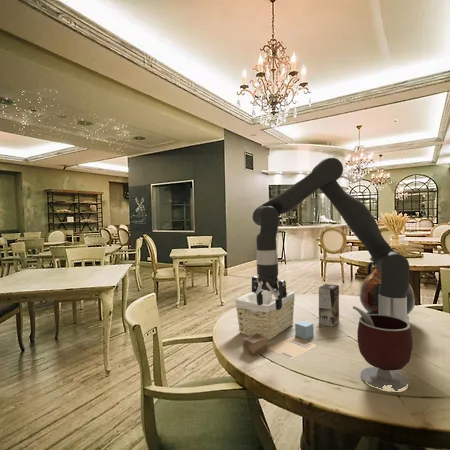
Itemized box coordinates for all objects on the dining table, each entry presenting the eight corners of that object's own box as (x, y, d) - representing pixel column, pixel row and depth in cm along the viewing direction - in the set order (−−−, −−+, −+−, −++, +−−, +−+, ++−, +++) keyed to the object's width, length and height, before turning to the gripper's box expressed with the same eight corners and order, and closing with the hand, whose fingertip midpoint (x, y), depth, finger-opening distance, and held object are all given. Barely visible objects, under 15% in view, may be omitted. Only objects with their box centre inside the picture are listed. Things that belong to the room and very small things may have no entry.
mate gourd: (416, 378, 86) (416, 310, 86) (406, 401, 76) (406, 324, 75) (360, 361, 97) (360, 300, 96) (345, 380, 86) (344, 311, 86)
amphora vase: (426, 324, 126) (427, 259, 125) (390, 333, 118) (389, 263, 117) (383, 310, 146) (382, 253, 145) (349, 316, 138) (348, 256, 137)
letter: (317, 346, 109) (317, 345, 109) (291, 359, 99) (291, 359, 99) (292, 336, 117) (292, 336, 117) (266, 348, 107) (266, 348, 107)
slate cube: (313, 336, 118) (313, 323, 118) (306, 339, 114) (305, 326, 114) (302, 332, 122) (302, 320, 121) (295, 335, 118) (295, 323, 118)
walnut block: (267, 351, 106) (267, 337, 106) (253, 357, 101) (253, 343, 101) (256, 346, 110) (256, 333, 109) (243, 352, 105) (242, 338, 105)
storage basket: (268, 344, 112) (267, 305, 111) (233, 333, 122) (233, 298, 121) (296, 324, 130) (296, 291, 130) (264, 317, 140) (264, 286, 140)
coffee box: (333, 327, 126) (333, 289, 126) (318, 324, 130) (317, 287, 129) (339, 320, 133) (339, 285, 133) (325, 317, 137) (325, 283, 137)
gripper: (290, 262, 104) (291, 308, 104) (259, 259, 114) (261, 301, 115) (276, 265, 99) (278, 314, 99) (245, 261, 109) (247, 305, 110)
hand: (269, 307), depth 107 cm, fingers open, 8 cm apart
